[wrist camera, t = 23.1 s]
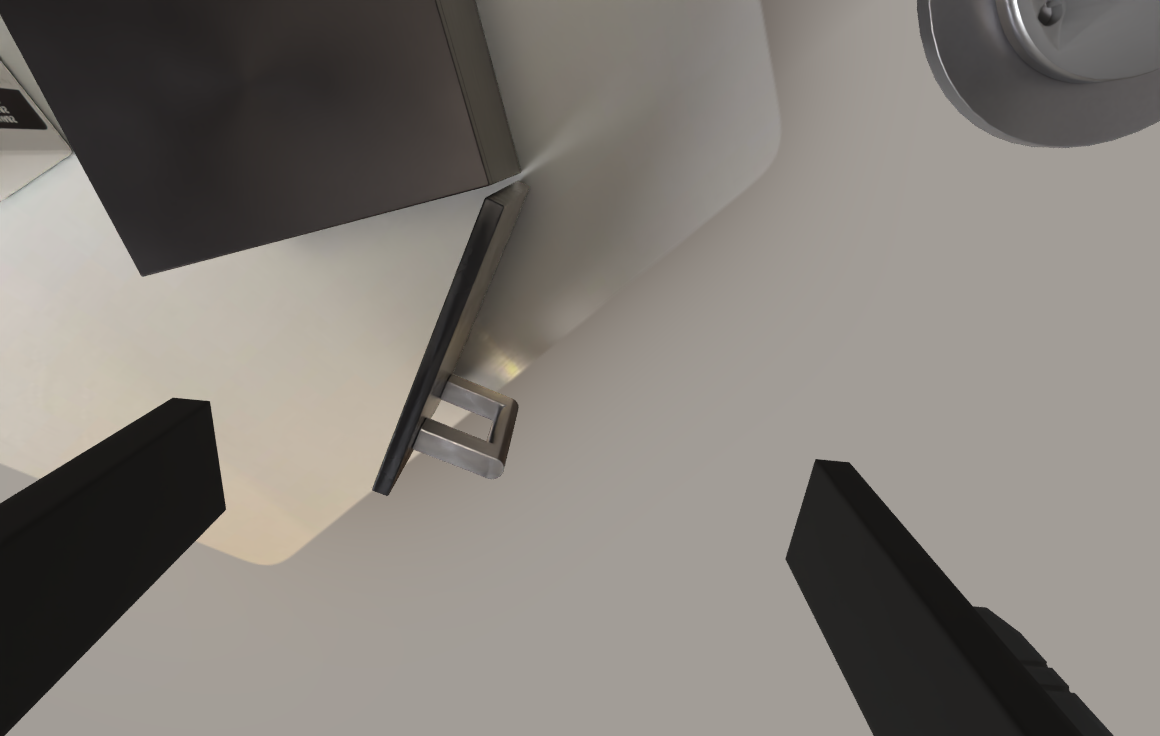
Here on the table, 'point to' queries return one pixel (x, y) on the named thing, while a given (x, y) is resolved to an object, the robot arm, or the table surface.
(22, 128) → the container
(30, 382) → the table surface
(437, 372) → the door
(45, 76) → the dark grey cabinet
